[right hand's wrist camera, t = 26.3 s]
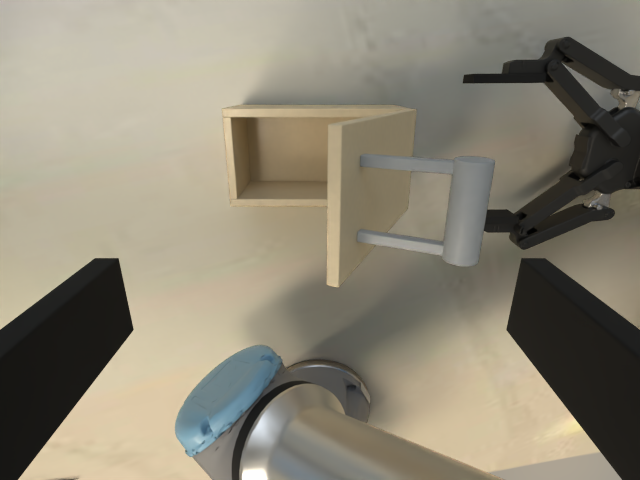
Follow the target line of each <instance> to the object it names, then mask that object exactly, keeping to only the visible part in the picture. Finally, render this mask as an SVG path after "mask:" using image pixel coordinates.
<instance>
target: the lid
mask: <svg viewBox="0 0 640 480" xmlns="http://www.w3.org/2000/svg"><path fill="white" fill-rule="evenodd" d="M416 111H417V110H416V109H405V110H400V111H395V112H390V113H385V114H379V115H374V116H369V117H364V118H359V119H354V120H348V121H343V122H338V123H333V124H329V125H328V184H327V285H329V286H333V287H340V286H341V284H342V283H343V282H344V281H345V280H346V279H347V278H348V276H349V275H350V274H351V273H352V272H353V271H354V270H355V268H356V267H357V266H358V265H359V264H360V263H361V262H362V260H363V259H364V258H365V257H366V256H367V255H368V254H369V252H370V251H371V250H372V249H373V248H374V247H375V245H380V246H386V247H392V248H398V249H404V250H410V251H416V252H422V253H428V254H434V255H440V256H442V259H443V260H444V261H445V262H447V263H449V264H452V265H456V266H464V267H468V266H474V265H476V264H477V263H478V262H479V256H480V250H481V244H482V238H483V232H484V226H485V220H486V214H487V208H488V202H489V196H490V190H491V184H492V178H493V172H494V166H495V160H493V159H490V158H485V157H474V156H462V157H456V158H454V160H448V159H434V158H419V157H413V145H414V134H415V123H416ZM411 171H416V172H428V173H440V174H451V175H452V179H451V187H450V194H449V202H448V210H447V218H446V226H445V234H444V241H437V240H430V239H424V238H417V237H410V236H404V235H397V234H391V233H387V232H388V231H389V229H390V228H391V227H392V226H393V225H394V224H395V223H396V221H397V220H398V219H399V218H400V217H401V216H402V215H403V213H404V212H405V211H406V210H407V209H408V202H409V191H410V179H411Z"/></svg>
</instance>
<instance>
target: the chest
mask: <svg viewBox="0 0 640 480" xmlns="http://www.w3.org/2000/svg"><path fill="white" fill-rule="evenodd" d="M405 109H410V108H405V107H401V106H397V105H237V106H232V107H227V108H222V116H223V127H224V138H225V149H226V161H227V172H228V184H229V195H230V206H280V207H327V184H328V125H329V124H333V123H338V122H343V121H348V120H354V119H359V118H364V117H369V116H374V115H379V114H385V113H390V112H395V111H400V110H405Z"/></svg>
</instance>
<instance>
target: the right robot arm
mask: <svg viewBox="0 0 640 480" xmlns="http://www.w3.org/2000/svg"><path fill="white" fill-rule="evenodd" d="M132 331H133V325H132V320H131V315H130V311H129V306H128V301H127V296H126V292H125V287H124V282H123V277H122V273H121V268H120V263H119V258H95V259H93V260H92V261H91V262H89V263H88V264H87V265H86V266H84V267H83V268H82V269H80V270H79V271H78V272H76V273H75V274H74V275H72V276H71V277H70V278H68V279H67V280H66V281H64V282H63V283H62V284H60V285H59V286H58V287H56V288H55V289H54V290H52V291H51V292H50V293H48V294H47V295H46V296H44V297H43V298H42V299H40V300H39V301H38V302H36V303H35V304H34V305H33V306H31V307H30V308H29V309H27V310H26V311H25V312H23V313H22V314H21V315H19V316H18V317H17V318H15V319H14V320H13V321H11V322H10V323H9V324H7V325H6V326H5V327H3V328H2V329H1V330H0V480H18V479H19V477H20V476H21V475H22V474H23V472H24V471H25V470H26V468H27V467H28V466H29V465H30V463H31V462H32V461H33V459H34V458H35V457H36V455H37V454H38V453H39V452H40V450H41V449H42V448H43V446H44V445H45V444H46V443H47V441H48V440H49V439H50V437H51V436H52V435H53V433H54V432H55V431H56V430H57V428H58V427H59V426H60V424H61V423H62V422H63V421H64V419H65V418H66V417H67V415H68V414H69V413H70V411H71V410H72V409H73V408H74V406H75V405H76V404H77V402H78V401H79V400H80V399H81V397H82V396H83V395H84V393H85V392H86V391H87V389H88V388H89V387H90V386H91V384H92V383H93V382H94V380H95V379H96V378H97V377H98V375H99V374H100V373H101V371H102V370H103V369H104V367H105V366H106V365H107V364H108V362H109V361H110V360H111V358H112V357H113V356H114V355H115V353H116V352H117V351H118V349H119V348H120V347H121V345H122V344H123V343H124V342H125V340H126V339H127V338H128V336H129V335H130V334H131V333H132ZM507 331H508V333H509V334H510V335H511V336H512V338H513V339H514V340H515V342H516V343H517V344H518V345H519V347H520V348H521V349H522V351H523V352H524V353H525V355H526V356H527V357H528V358H529V360H530V361H531V362H532V364H533V365H534V366H535V367H536V369H537V370H538V371H539V373H540V374H541V375H542V377H543V378H544V379H545V380H546V382H547V383H548V384H549V386H550V387H551V388H552V389H553V391H554V392H555V393H556V395H557V396H558V397H559V399H560V400H561V401H562V402H563V404H564V405H565V406H566V408H567V409H568V410H569V411H570V413H571V414H572V415H573V417H574V418H575V419H576V421H577V422H578V423H579V424H580V426H581V427H582V428H583V430H584V431H585V432H586V433H587V435H588V436H589V437H590V439H591V440H592V441H593V443H594V444H595V445H596V446H597V448H598V449H599V450H600V452H601V453H602V454H603V455H604V457H605V458H606V459H607V461H608V462H609V463H610V464H611V466H612V467H613V468H614V470H615V471H616V472H617V474H618V475H619V476H620V477H621V479H622V480H640V330H639V329H638V328H637V327H635V326H634V325H633V324H631V323H630V322H629V321H627V320H626V319H625V318H623V317H622V316H621V315H619V314H618V313H617V312H615V311H614V310H613V309H611V308H610V307H609V306H607V305H606V304H605V303H604V302H602V301H601V300H600V299H598V298H597V297H596V296H594V295H593V294H592V293H590V292H589V291H588V290H586V289H585V288H584V287H582V286H581V285H580V284H578V283H577V282H576V281H574V280H573V279H572V278H570V277H569V276H568V275H566V274H565V273H564V272H562V271H561V270H560V269H558V268H557V267H556V266H554V265H553V264H552V263H551V262H549V261H548V260H547V259H545V258H521V263H520V268H519V273H518V277H517V282H516V287H515V292H514V296H513V301H512V306H511V311H510V315H509V320H508V325H507Z"/></svg>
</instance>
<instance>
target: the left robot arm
mask: <svg viewBox="0 0 640 480" xmlns="http://www.w3.org/2000/svg"><path fill="white" fill-rule="evenodd" d="M561 62H562V63H564V64H565V65H567V66H568V67H570V68H572V69H573V70H575V71H577V72H578V73H580V74H582V75H583V76H585V77H587V78H588V79H590V80H591V81H593V82H595V83H596V84H598V85H600V86H602V87H604V88H607V89H611V92H610V94H611V95H612V96H613V97H614V98H615V99H617V100H618V101H619V106H618V107H616V108H614V109H612V110H611V111H609V112H607V111H606V110H605V109H603V108H601V107H600V106H599V105H598V104H597V103H596V102H595V101H594V99H593V98H592V97H591V96H590V95H589V94H588V93H587V91H586V90H585V89H584V88H583V87H582V86H581V85H580V83H579V82H578V81H577V80H576V79H575V78H574V77H573V76H572V74H571V73H570V72H569V71H568V70H567V69H566V68H565V66H564V65H563V64H562V63H561ZM463 83H544V84H545V85H546V86H547V87H548V88H549V89H550V90H551V91H552V92H553V93H554V95H555V96H556V97H557V98H558V99H559V100H560V101H561V102H562V103H563V104H564V106H565V107H566V108H567V109H568V110H569V111H570V112H571V113H572V114H573V115H574V119H575V121H576V122H577V123H578V124H579V125H580V126H581V127H582V128H583V129H582V130H581V131H580V133H579V135H576V137H575V141H574V152H573V154H572V156H571V159H570V163H569V165H570V166H571V167H572V170H571V171H569V172H568V173H567V174H565V175H564V176H562V177H561V178H560V181H559V182H558V183H557V184H555V185H554V186H552V187H551V188H550V189H548V190H547V191H545V192H544V193H543V194H541V195H540V196H538V197H537V198H535V199H534V200H533V201H531V202H530V203H528V204H527V205H526V206H524V207H523V208H521V209H520V210H518V211H517V212H516V213H514V214H513V213H511V212H510V211H508V210H487V214H486V220H485V226H484V231H485V232H510V235H509V239H510V240H511V241H512V242H513V243H515V244H516V245H517V246H518V247H520V248H521V249H524V250H525V249H528V248H530V247H533V246H535V245H537V244H540V243H542V242H544V241H547V240H549V239H551V238H554V237H556V236H559V235H561V234H563V233H566V232H568V231H570V230H573V229H575V228H577V227H580V226H582V225H584V224H587V223H589V222H592V221H601V220H609V219H611V218H613V216H614V214H615V211H614V210H613V209H611V208H609V203H610V197H611V193H613V192H615V191H618V190H621V189H640V111H638V110H637V109H636V108H635V107H636V105H637V102H638V99H639V97H640V76H634V75H630V74H628V73H627V72H625V71H624V70H622V69H620V68H619V67H617V66H616V65H614V64H612V63H611V62H609V61H607V60H606V59H604V58H603V57H601V56H599V55H598V54H596V53H595V52H593V51H591V50H590V49H588V48H587V47H585V46H583V45H582V44H580V43H579V42H577V41H575V40H574V39H572V38H571V37H564V38H559V39H554V40H550V41H548V42H547V43H546V45H545V52H544V54H543V56H542V57H541V58H540V59H538V60H513V61H508V62H506V63H503V70H502V74H468V75H464V77H463ZM580 179H581V180H582V181H579V180H580ZM591 190H594V191H596V192H595V195H594V196H593V197H591V198H589V199H584V200H583V202H582V203H583V204H578V205H574V206H572V207H569V208H567V209H564V210H562V211H560V212H557V213H555V214H553V213H554V212H556V211H557V210H559V209H560V208H562V207H563V206H565V205H566V204H568V203H569V202H570V201H572V200H573V199H575V198H576V197H578V196H580V195H585V194H587V193H589V192H590V191H591ZM552 214H553V215H552ZM550 215H551V216H550ZM369 408H370V395H369V394H368V391H367V388H366V385H365V383H364V381H363V380H362V379H361V377H360V376H359V375H358V374H357V373H356V372H354V371H353V370H352V369H350V368H349V367H347V366H345V365H343V364H340V363H337V362H334V361H329V360H308V361H303V362H300V363H297V364H295V365H292V366H290V367H289V368H287V369H286V367H285V366H284V365H283V363H282V359H281V356H278V355H277V354H276V353H275V352H274V351H273V350H272V349H271V348H270V347H268V346H265V345H257V346H252V347H248V348H246V349H243V350H241V351H239V352H237V353H236V354H234V355H233V356H231V357H229V358H228V359H226V360H225V361H223V362H222V363H221V364H219V365H218V366H217V367H216V368H214V369H213V370H212V371H211V372H210V373H209V374H208V375H207V376H206V377H204V378H203V379H202V381H201V382H200V383H199V384H198V385H197V386H196V387H195V388H194V389H193V391H192V392H191V393H190V395H189V396H188V397H187V399H186V400H185V402H184V404H183V406H182V407H181V409H180V411H179V413H178V416H177V419H176V423H175V433H176V437H177V439H178V440H179V441H180V443H181V444H182V445H183V447H184V448H185V449H186V450H185V452H186V454H187V455H188V456H189V457H193V458H194V460H195V461H196V462H197V463H198V464H199V465H200V466H201V467H202V469H203V470H204V471H205V472H206V473H207V474H208V475H209V476H210V478H211V479H212V480H504V479H502V478H499V477H497V476H494V475H492V474H489V473H487V472H485V471H482V470H480V469H477V468H475V467H472V466H470V465H467V464H465V463H462V462H460V461H458V460H455V459H453V458H450V457H448V456H445V455H443V454H440V453H438V452H435V451H433V450H431V449H428V448H426V447H423V446H421V445H418V444H416V443H413V442H411V441H408V440H406V439H403V438H401V437H399V436H396V435H394V434H391V433H389V432H386V431H384V430H381V429H379V428H376V427H374V426H372V425H369V424H367V421H368V417H369Z"/></svg>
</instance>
